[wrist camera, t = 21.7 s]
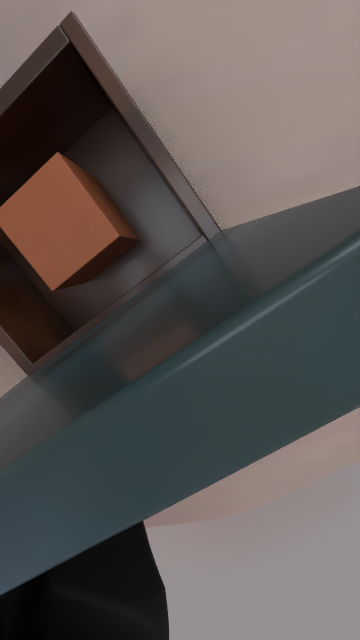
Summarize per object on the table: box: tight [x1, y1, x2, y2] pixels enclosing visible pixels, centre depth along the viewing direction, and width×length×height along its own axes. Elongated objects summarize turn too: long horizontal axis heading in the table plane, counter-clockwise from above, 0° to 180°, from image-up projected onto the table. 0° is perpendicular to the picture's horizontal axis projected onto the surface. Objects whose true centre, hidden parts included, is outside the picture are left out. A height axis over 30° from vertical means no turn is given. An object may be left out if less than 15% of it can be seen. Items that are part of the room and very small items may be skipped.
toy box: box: [0, 11, 222, 376], centre depth 17 cm, size 12×14×6 cm
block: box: [0, 152, 141, 291], centre depth 17 cm, size 5×5×5 cm
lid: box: [0, 186, 360, 595], centre depth 8 cm, size 12×14×1 cm
